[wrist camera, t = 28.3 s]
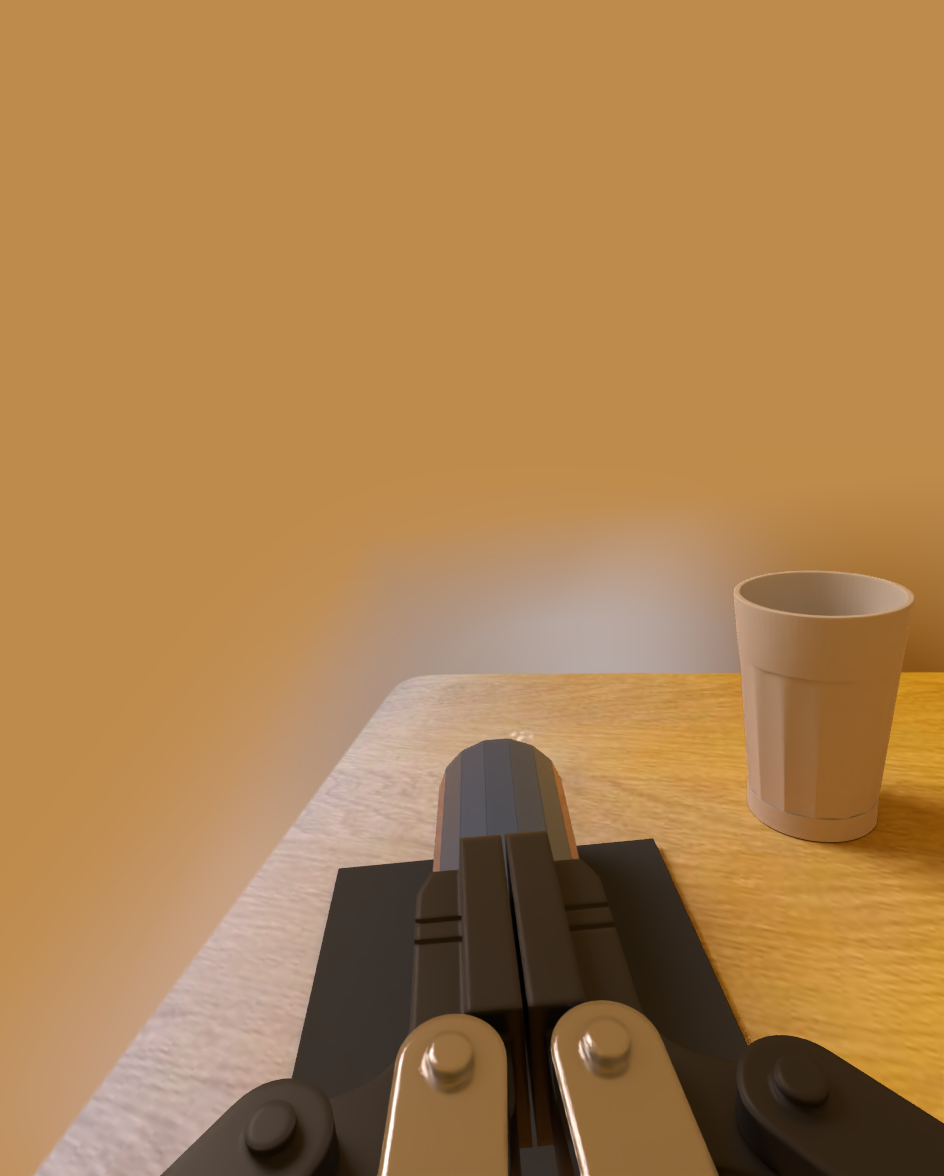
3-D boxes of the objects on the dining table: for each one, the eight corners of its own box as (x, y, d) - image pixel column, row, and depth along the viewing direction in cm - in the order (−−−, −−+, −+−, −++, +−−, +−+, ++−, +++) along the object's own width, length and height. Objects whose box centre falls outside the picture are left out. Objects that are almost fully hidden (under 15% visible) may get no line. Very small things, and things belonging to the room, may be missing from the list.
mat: (243, 1316, 19) (240, 1306, 19) (339, 874, 37) (338, 868, 36) (838, 1256, 19) (839, 1244, 19) (653, 844, 37) (653, 838, 37)
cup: (699, 794, 41) (699, 590, 37) (801, 754, 44) (810, 562, 40) (820, 873, 34) (832, 630, 30) (931, 819, 37) (953, 593, 33)
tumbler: (418, 897, 25) (434, 743, 35) (436, 1037, 26) (446, 850, 37) (596, 884, 25) (558, 734, 35) (602, 1026, 26) (564, 841, 37)
